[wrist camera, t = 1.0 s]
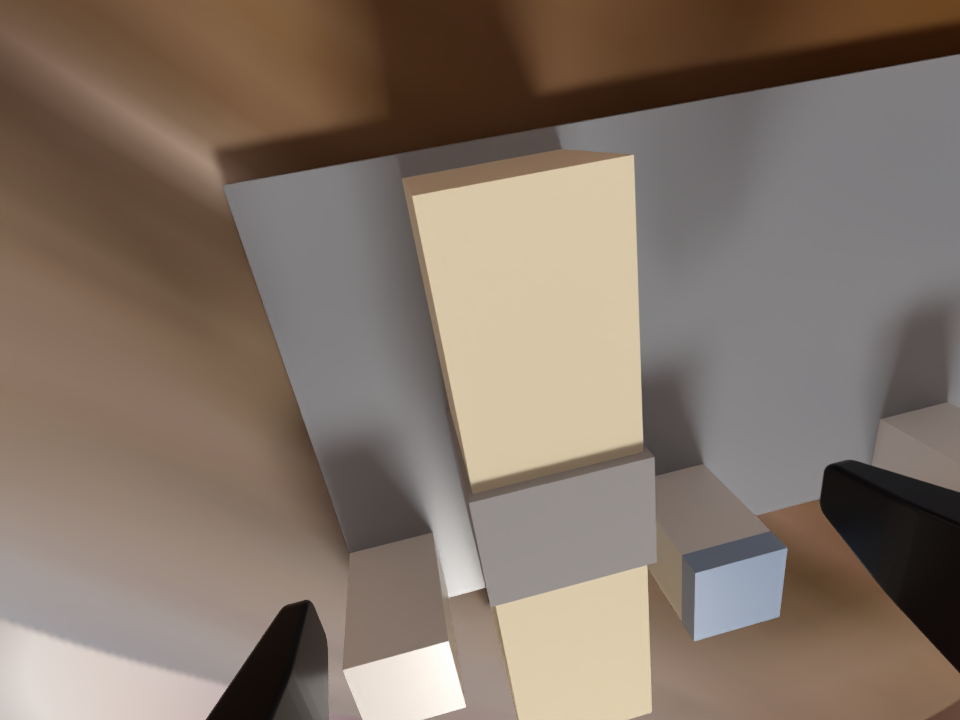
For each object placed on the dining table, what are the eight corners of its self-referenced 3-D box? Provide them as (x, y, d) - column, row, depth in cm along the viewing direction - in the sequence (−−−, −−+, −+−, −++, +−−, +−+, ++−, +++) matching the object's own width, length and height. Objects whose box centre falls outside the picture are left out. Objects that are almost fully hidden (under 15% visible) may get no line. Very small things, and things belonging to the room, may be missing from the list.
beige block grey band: (567, 147, 10) (647, 153, 7) (604, 604, 15) (660, 720, 12) (396, 179, 9) (404, 199, 7) (493, 635, 14) (523, 761, 11)
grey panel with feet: (1051, 37, 11) (1318, -1, 8) (944, 451, 16) (1090, 532, 12) (229, 183, 9) (156, 208, 6) (372, 602, 14) (371, 740, 11)
